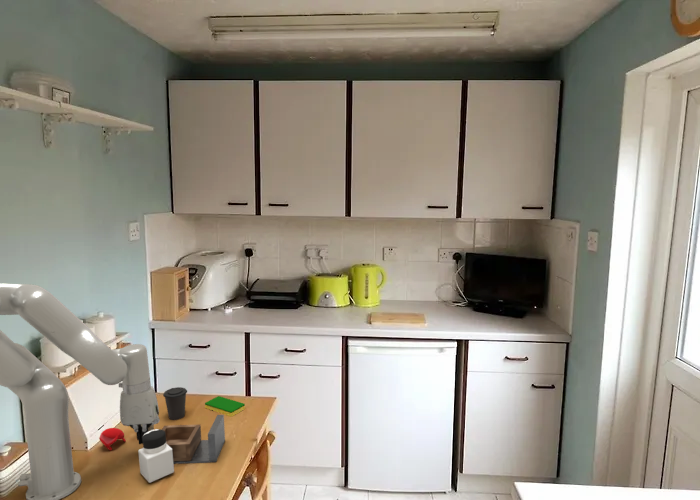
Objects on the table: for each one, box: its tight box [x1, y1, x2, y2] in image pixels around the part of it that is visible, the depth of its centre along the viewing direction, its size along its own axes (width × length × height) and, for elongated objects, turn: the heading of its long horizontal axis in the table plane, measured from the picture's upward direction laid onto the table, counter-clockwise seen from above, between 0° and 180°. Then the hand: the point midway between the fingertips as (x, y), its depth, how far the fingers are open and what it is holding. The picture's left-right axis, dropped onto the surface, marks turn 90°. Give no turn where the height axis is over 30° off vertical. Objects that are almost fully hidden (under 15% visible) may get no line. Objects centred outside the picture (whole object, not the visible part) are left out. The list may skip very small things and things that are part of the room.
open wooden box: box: [161, 424, 202, 461], centre depth 140 cm, size 11×11×5 cm
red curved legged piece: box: [98, 427, 127, 451], centre depth 144 cm, size 8×6×6 cm
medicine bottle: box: [137, 428, 175, 483], centre depth 129 cm, size 7×7×12 cm
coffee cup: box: [162, 386, 188, 421], centre depth 163 cm, size 8×8×10 cm
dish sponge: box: [204, 395, 246, 418], centre depth 169 cm, size 7×14×2 cm, turn 60°
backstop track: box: [173, 414, 226, 465], centre depth 140 cm, size 21×12×9 cm, turn 92°
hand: (143, 441), depth 140 cm, fingers closed
